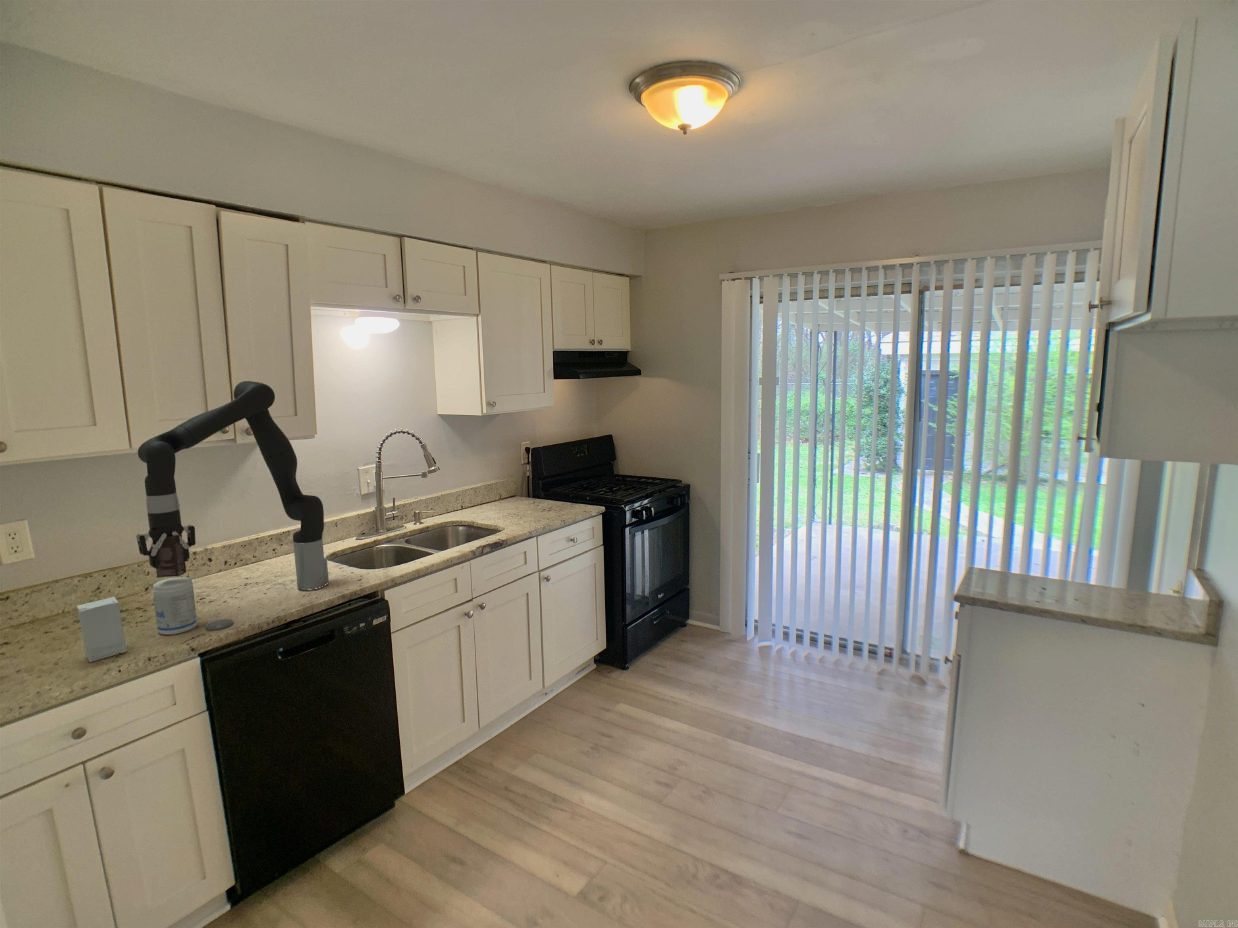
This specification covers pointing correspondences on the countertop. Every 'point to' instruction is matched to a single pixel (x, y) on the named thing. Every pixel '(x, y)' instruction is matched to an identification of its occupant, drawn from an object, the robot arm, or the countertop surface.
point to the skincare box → (102, 628)
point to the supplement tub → (174, 605)
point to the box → (170, 557)
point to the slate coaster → (219, 624)
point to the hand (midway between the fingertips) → (170, 564)
